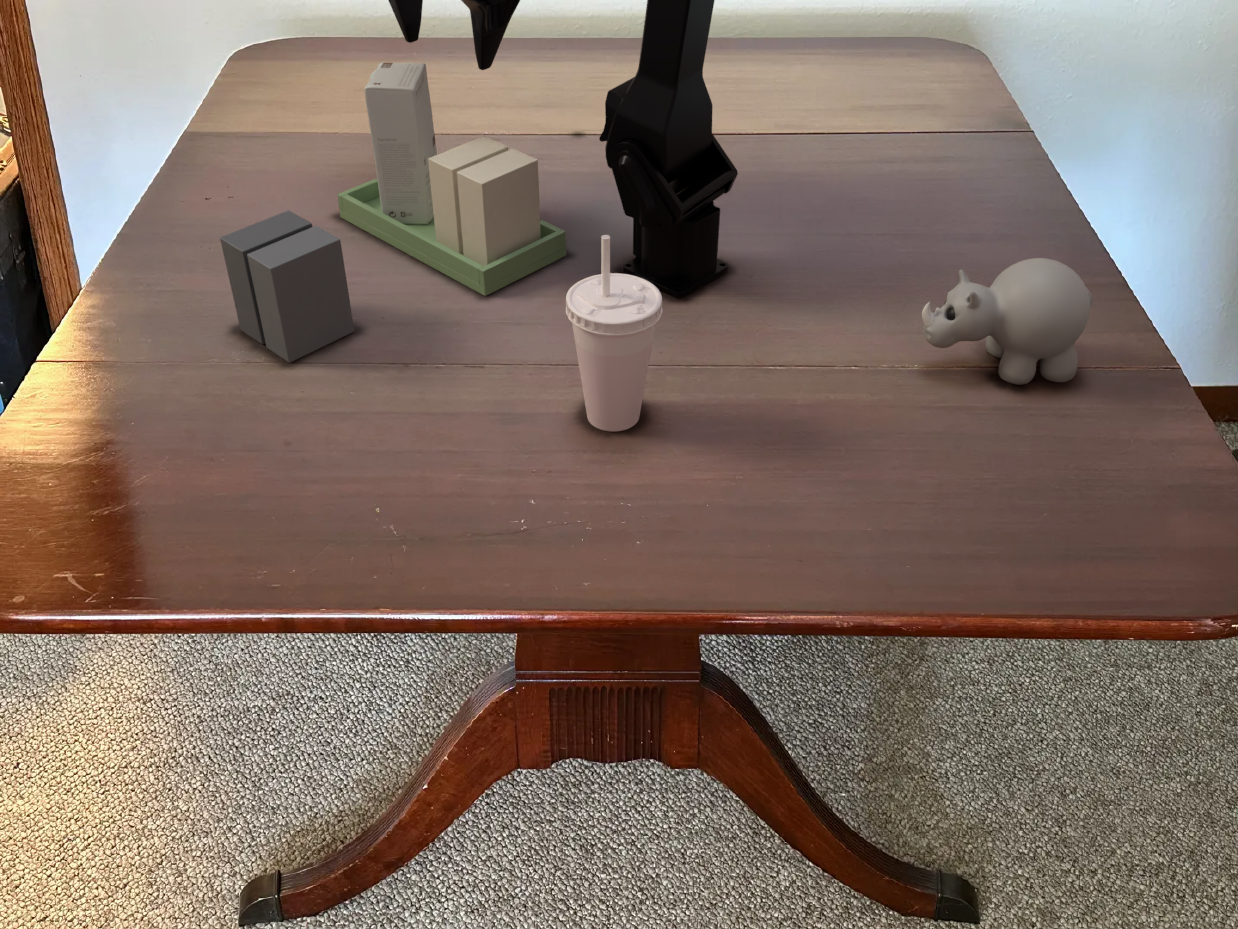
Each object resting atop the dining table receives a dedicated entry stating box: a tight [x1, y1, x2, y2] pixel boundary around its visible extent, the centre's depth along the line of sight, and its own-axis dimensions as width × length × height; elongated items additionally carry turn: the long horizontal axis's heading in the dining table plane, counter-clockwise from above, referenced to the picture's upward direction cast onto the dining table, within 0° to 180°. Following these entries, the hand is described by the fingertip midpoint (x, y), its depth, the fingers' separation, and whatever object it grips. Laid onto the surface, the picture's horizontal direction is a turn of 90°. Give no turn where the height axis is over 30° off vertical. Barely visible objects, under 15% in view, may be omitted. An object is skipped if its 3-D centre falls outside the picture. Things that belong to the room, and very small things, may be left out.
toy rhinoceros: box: [921, 257, 1093, 385], centre depth 87 cm, size 7×12×8 cm, turn 92°
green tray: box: [337, 177, 567, 297], centre depth 104 cm, size 19×9×2 cm, turn 47°
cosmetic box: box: [363, 62, 438, 224], centre depth 103 cm, size 6×4×12 cm
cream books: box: [428, 135, 541, 266], centre depth 99 cm, size 6×6×8 cm
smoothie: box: [565, 234, 664, 432], centre depth 81 cm, size 6×6×14 cm
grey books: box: [219, 209, 355, 364], centre depth 91 cm, size 6×6×8 cm
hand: (447, 54), depth 103 cm, fingers open, 9 cm apart
